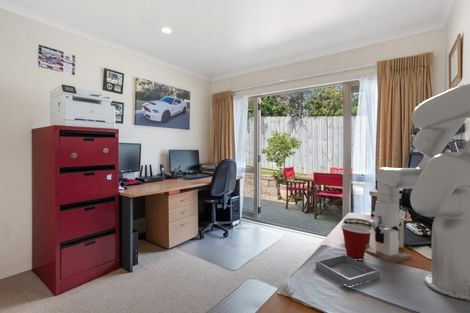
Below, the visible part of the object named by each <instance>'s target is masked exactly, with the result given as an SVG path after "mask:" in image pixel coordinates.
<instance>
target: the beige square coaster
mask: <svg viewBox="0 0 470 313" xmlns="http://www.w3.org/2000/svg"><path fill="white" fill-rule="evenodd" d="M365 253H367V254H369V255H372V256H374V257H376V258H379V259H382V260H384V261H387V262H390V263H393V264H394V263H397V262H401V261H404V260H407V259H410V258H411V255H410V254H407V253H405V252H401V251H399V250H398V254H396V255H392V256H388V255H385V254H383V253H380V252H378V251H376V246H375V247H372V248H371V247H370V248H368V249H367V248H366V250H365Z"/></svg>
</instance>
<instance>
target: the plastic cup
mask: <svg viewBox="0 0 470 313" xmlns="http://www.w3.org/2000/svg"><path fill="white" fill-rule="evenodd" d="M340 228H341V230H342V234H343V242H344V248H345V252H346V254H345V255H346V256H348V257H350V258H353V259H357V260H358V259H363V260H364V258H365V253H366V249H367V246H368V245H367V241H368V238H369V235H370V233H372V229H371V230H370V229H368V228H365V227H361V226H356V225H349V224H345V223H344V224H343V223H342V224H341V226H340ZM370 236H371V235H370Z"/></svg>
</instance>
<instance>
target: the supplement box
mask: <svg viewBox="0 0 470 313" xmlns="http://www.w3.org/2000/svg"><path fill="white" fill-rule="evenodd" d="M400 217H401V216H400ZM401 218H402V222H401V226H400V230H399V240H398V249H404V231H405V230H404V226H405V225H404V224H405V220H404V218H403V217H401ZM391 228H392V227H389V229H391Z"/></svg>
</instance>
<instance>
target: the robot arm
mask: <svg viewBox="0 0 470 313" xmlns="http://www.w3.org/2000/svg"><path fill="white" fill-rule="evenodd" d="M467 118H469V119H470V83H467V84H466V83H465V84H462V85H459V86H455V87H453V88H451V89H448V90H446V91H444V92H442V93H439V94H437V95H435V96H432V97H431V98H429V99H426V100H424V101H423V102H422V103H419V104H418V106H416V107H415V109H414V110H413V111H412V114H411V123H412V124H413V127H415V128H417V129H420V130H419V131H418V132H417V134H416V136H415V137H414V138H413V140H412V146H413V148H414V149H415V150H416V151H417V152H418V153H421V154H422V155H423V158H422V159H421V161H420V163H419V164H418V165H417V166H416V167H400V168H399V167H397V168H396V167H380V168H379V167H378V169H377V172H376V173H377V174H376V176H377V179H376V180H377V182H376V183H377V185H376V186H377V187H376V189H377V191H376V195H377V196H376V202H375V205H374V206H375V207H374V214H373V215H374V216H373V221H371V222H372V224H373V227H372V229H373V230H374V233H375V234H374V240H375V243H376V242H379V243H384V233H383V231H384V229H385V228H389V227H392V228H391V229H392V230H396V231H399V230H400V226H401V222H402V218H403V217H402V218H401V214H400V213H401V212H400V211H401V209H400V189H403V190H404V189H412V190H411V192H410V197H409V200H410V206H411V207H412V208H411V209H413V210H414V211H415V213H417V214H419V216H422V217H423V216H424V217H431V218H432V217H433V218H434V220H433V222H432V227H431V228H432V230H431V265H430V266H431V269H430V272H431V273H430V274H429V275H426V276H425V277H424V283H425V282H426V283H425V284H426V285H427V286H428V287H429V288H430V287H431V288H430V289H432V288H433V289H434V291H435V290H436V291H435V292H437V291H439V292H441V293H440V294H442V293H445V294H447V295H450V296H453V297H456V298H455V299H457V298H462V299H470V139H469V140H468V142H467V143H466V145H465V146H464V147H463V149H462V150H460V151H459V152H457V151H453V152H452V151H451V152H450V151H449V152H443V151H444V149H445V148H446V147H447V146H448V144H449V143H450V141H451V140H452V139H453V138H454V136H456V134H457V132H458V131H459V130H460V128H461V127H463V125H464V123H465V122H466V121H467ZM380 228H381V229H380ZM398 240H399V239H398ZM433 289H432V290H433ZM439 292H438V293H439ZM447 295H446V296H447ZM450 296H449V297H450ZM453 297H452V298H453ZM462 299H461V300H462Z"/></svg>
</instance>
